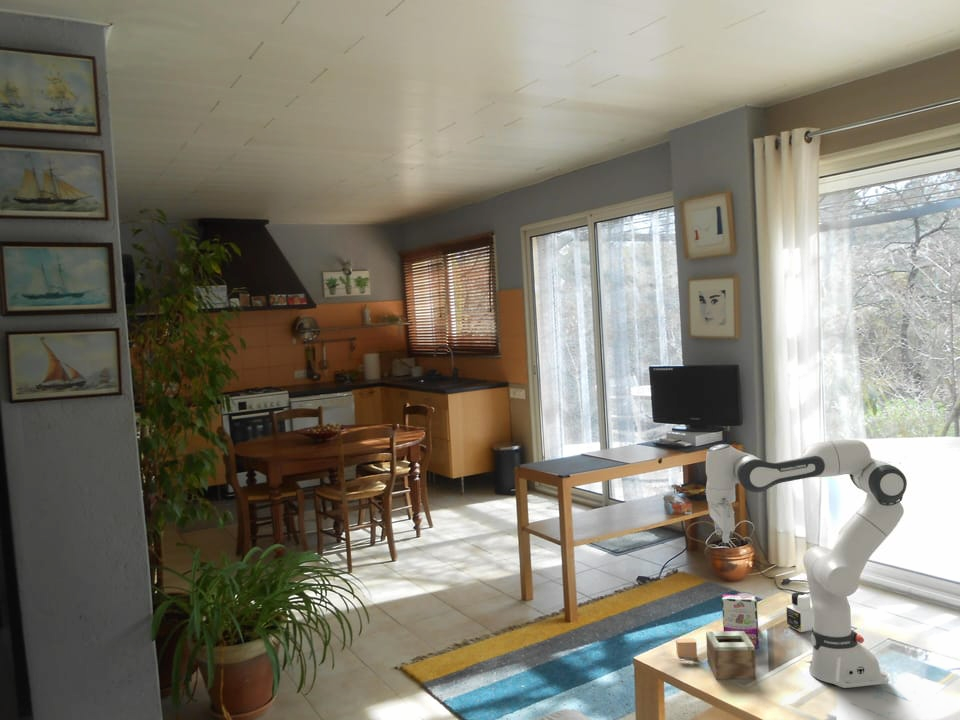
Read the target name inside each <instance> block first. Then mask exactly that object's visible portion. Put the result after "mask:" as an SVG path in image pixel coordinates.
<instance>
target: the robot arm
mask: <svg viewBox="0 0 960 720" xmlns="http://www.w3.org/2000/svg"><path fill="white" fill-rule="evenodd" d="M705 474H706V477H707V478H706V485H705V486H706V487H705V496H706V501H707V508H708V513H709V514H708V515H709V517H710V518H711V519H712V520H713V524H714V529H715V532H714V533H715V534H716V535H718V536H721V535H722V537H721V538H722V540H721V541H722V542H723V543H725V544H729V542H730V536H731V532H735V529H736V525H735V524H736V522H735V521H736V520H735V510H734V508H733V506H732V504H733V503H735V502H736V501H737V500H736V484H741V486H742V487H743V488H744V489H745V490H747V491H749V492H752V493H762V492H765V491H767V490H769V489H771V488H772V487H774V486H776V485H779V484H782V483H786V482H787V483H788V482H791V481H798V480H803V479H809V478H827V477H829V478H830V477H836V476H842V475H843V476H844V475H849V477H850V480H851V482H852V483H853V484H854V486H856V488H858V489H859V490H862V491H863V492H864V493H866V498H865V501H864V503H863V505H862V506H860V507H859V509H858V510H857V511H856V512H855V513H854V514H853V515H852V516H851V517H850V518H849V520H847V522H845V524H844V525H843V526H842V527H841V528H840V530H839V531H838V538H837V540H836V543H835V544H834V546H833V548H832V549H830V548H829V547H825V546H821V545H820V546H818V545H815V546H812V547H810V548H808V549H807V550H806V551H805V552H804V554H803V556H802V557H803V558H802V562H803V566H804V569H805V575H806V579H807V586H808V590H809V596H810V602H811V607H812V614H813V627H812V630H811V644H812V655H811V660H810V661H811V662H810V666H809V669H808V672H809V674H810V675H811V676H813V677H814V679H817V680H819V681H823V682H825V683H829V684H834V685H836V686H838V687H840V688H843V689H846V688H847V689H848V688H857V687H864V686H865V687H866V686H876V685H883V684H884V685H885V684H888V683H889V681H890V680H889V676H888V674H887V673H886V671H885V670H884V669H883V668H882V667H880V664H879V662H878V659H877V657H876V655H875V654H874V653H873V652H872V651H870V649H868V648H867V647H866V646H863V643H864V641H865V639H864V637H862V635H860V634H858V632H856V631H855V630H853V629H852V617H851V615H852V613H851V611H852V610H851V606H850V603H849V600H848V597H850V596H851V595H854V594H855V593H856V592H857V590H858V588H859V586H860V577H861V575H862V572H863V571H864V568H865V566H866V564H867V563H868V561H869V559H870V558H871V557H872V555H873V553H874V552H875V551H876V550H877V549H878V548H879V547H880V546H881V545H882V544H883V543H884V541H885V540H886V539H887V538H888V537H889V536H890V535H891V534H892V533H893V531H894V529H895V528H896V527H897V526H898V523H899V522H900V521H901V520H902V517H903V515H904V509H905V508H904V506H903V505H902V503H901V502H902V500H903V498H904V497H903V496H904V494H905V492H906V491H907V490H906V489H907V483H908V481H907V478H906V476H905V474H904V473H903V472H902V471H901V470H900V469H899V468H898V467H896V466H895V465H891V464H890V463H889V462H888V463H887V462H886V461H882V460H878V459H875V458H872V456H871V450H870V449H869V447H868V445H867V444H866V443H865V442H864V441H862V440H860V439H835V440H834V439H833V440H826V441H820V442H816V443H813V444H810V445H808V446H806V447H805V449H804V450H803V452H802V455H800V456H799V457H796V458H791V459H786V460H780V461H774V462H771V461H765V460H762V459H760V458H759V457H757V456H755V455H753V454H752V453H747V452H744V451H742V450H738V449H737V448H735V447H733V446H732V445H730V444H727V443H724V444H717V445H716V444H715V445H713V446H711V447H709V449H707V452H706V455H705Z"/></svg>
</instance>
